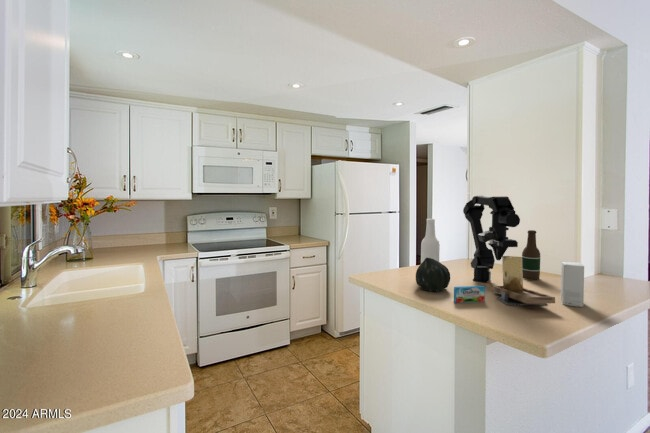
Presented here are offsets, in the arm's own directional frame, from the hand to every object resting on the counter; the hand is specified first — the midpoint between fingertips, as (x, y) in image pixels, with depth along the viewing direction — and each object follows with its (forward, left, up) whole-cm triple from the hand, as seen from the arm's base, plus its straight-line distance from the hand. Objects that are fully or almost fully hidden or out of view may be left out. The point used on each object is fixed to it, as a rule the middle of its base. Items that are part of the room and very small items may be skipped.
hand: (498, 260), depth 143 cm
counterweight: (+8, -9, -10) cm, 16 cm away
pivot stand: (+12, -12, -13) cm, 21 cm away
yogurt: (-4, -26, -13) cm, 29 cm away
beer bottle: (+7, +30, -13) cm, 34 cm away
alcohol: (-31, -2, -13) cm, 33 cm away
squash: (-22, -19, -13) cm, 32 cm away
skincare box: (+26, -2, -13) cm, 30 cm away
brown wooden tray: (+12, -12, -10) cm, 20 cm away
